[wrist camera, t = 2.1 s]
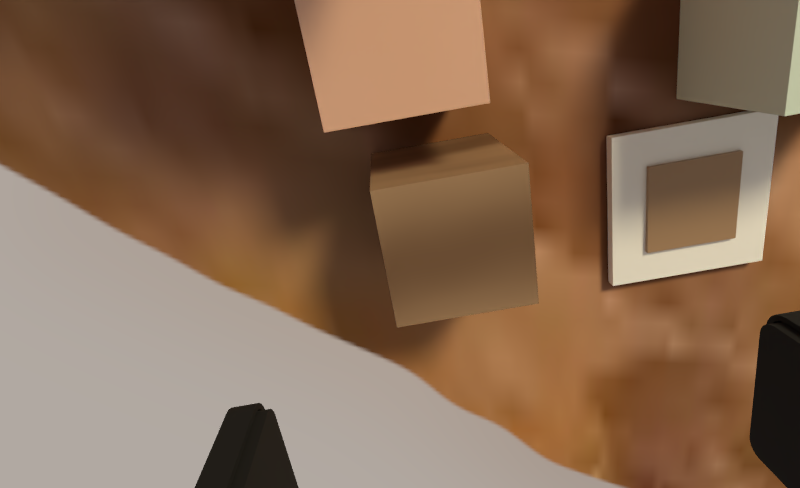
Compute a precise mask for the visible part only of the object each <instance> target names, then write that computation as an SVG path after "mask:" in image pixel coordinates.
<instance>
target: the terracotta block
mask: <svg viewBox="0 0 800 488" xmlns="http://www.w3.org/2000/svg"><path fill="white" fill-rule="evenodd" d="M294 1H295V6H296V10H297V14H298V19H299V23H300V28H301V32H302V37H303V41H304V46H305V50H306V55H307V59H308V64H309V68H310V72H311V77H312V81H313V86H314V90H315V95H316V99H317V104H318V108H319V113H320V117H321V122H322V126H323V130H324V133H325V132H331V131H336V130H342V129H347V128H353V127H358V126H364V125H370V124H375V123H381V122H386V121H392V120H397V119H403V118H408V117H414V116H420V115H425V114H431V113H436V112H442V111H447V110H453V109H458V108H464V107H470V106H475V105H481V104H486V103H490V95H489V85H488V75H487V65H486V54H485V44H484V34H483V24H482V14H481V3H480V0H294Z"/></svg>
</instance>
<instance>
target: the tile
mask: <svg viewBox="0 0 800 488" xmlns="http://www.w3.org/2000/svg"><path fill="white" fill-rule="evenodd" d="M778 116H779V115H774V114H767V113H761V112H755V111H744V112H738V113H733V114H727V115H721V116H716V117H710V118H704V119H699V120H693V121H688V122H682V123H676V124H671V125H665V126H659V127H654V128H648V129H642V130H637V131H631V132H626V133H620V134H614V135H609V136H606V145H607V220H608V282H609V283H610V284H611V285H612V286H616V285H622V284H628V283H634V282H640V281H645V280H651V279H657V278H663V277H669V276H675V275H680V274H686V273H692V272H698V271H704V270H710V269H715V268H721V267H727V266H733V265H739V264H745V263H750V262H756V261H762V256H763V248H764V239H765V230H766V221H767V212H768V204H769V195H770V186H771V177H772V169H773V160H774V151H775V142H776V133H777V125H778Z"/></svg>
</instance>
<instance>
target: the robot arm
mask: <svg viewBox="0 0 800 488" xmlns="http://www.w3.org/2000/svg"><path fill="white" fill-rule="evenodd" d="M750 442H751V446H752V448H753V450H754V452H755V454H756V455H757V456H758V458H759V459H760V460H761V461H762V462H763V463H764V464H765V465H766V466H767V467H768V468H769V469H770V470H771V471H772V472H773V473H774V474H775V475H776V476H777V477H778V478H779V480H780V481H781V482H782V483H783V484H784V485H785V486H786V487H787V488H800V311H795V312H789V313H783V314H777V315H774V316H771V317H770V318H769V320H768V321H767V324H766V325H764V326H763V327H762V328H761V331H760V338H759V348H758V358H757V368H756V378H755V388H754V398H753V408H752V418H751V428H750ZM195 488H298V485H297V482H296V479H295V476H294V472H293V469H292V466H291V463H290V460H289V457H288V454H287V451H286V447H285V445H284V441H283V438H282V435H281V432H280V429H279V426H278V422H277V419H276V416H275V414H274V411H273V410H272V409H268V410H265V409H264V407H263V406H262V404H260V403H257V404H251V405H245V406H239V407H234V408H231V409H229V410H228V412H227V414H226V416H225V418H224V421H223V423H222V425H221V428H220V430H219V433H218V435H217V437H216V440H215V442H214V444H213V447H212V449H211V451H210V453H209V456H208V458H207V460H206V463H205V465H204V467H203V470H202V472H201V475H200V477H199V479H198V481H197V484H196V486H195Z"/></svg>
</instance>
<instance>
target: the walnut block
mask: <svg viewBox="0 0 800 488" xmlns="http://www.w3.org/2000/svg"><path fill="white" fill-rule="evenodd" d="M370 195H371V200H372V205H373V210H374V215H375V220H376V225H377V230H378V235H379V240H380V245H381V250H382V255H383V260H384V265H385V270H386V275H387V280H388V285H389V290H390V295H391V300H392V305H393V310H394V315H395V320H396V325H397V328H398V327H404V326H410V325H416V324H422V323H427V322H433V321H439V320H445V319H451V318H457V317H462V316H468V315H474V314H480V313H486V312H492V311H497V310H503V309H509V308H515V307H521V306H527V305H532V304H538V303H539V300H538V286H537V273H536V259H535V245H534V232H533V218H532V204H531V191H530V177H529V163H528V162H526V161H525V160H524V159H522V158H521V157H520V156H518V155H517V154H516V153H514V152H513V151H512V150H510V149H509V148H508V147H506V146H505V145H503V144H502V143H501V142H499V141H498V140H497V139H495V138H494V137H493V136H491V135H490V134H489V133H485V134H480V135H474V136H468V137H463V138H457V139H452V140H446V141H440V142H435V143H429V144H424V145H418V146H412V147H407V148H401V149H396V150H390V151H384V152H379V153H373V154H371V175H370Z"/></svg>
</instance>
